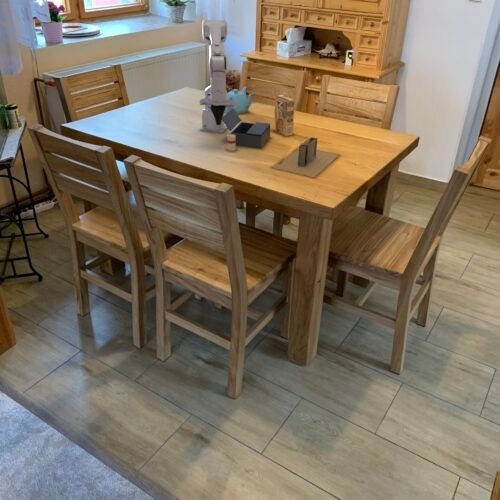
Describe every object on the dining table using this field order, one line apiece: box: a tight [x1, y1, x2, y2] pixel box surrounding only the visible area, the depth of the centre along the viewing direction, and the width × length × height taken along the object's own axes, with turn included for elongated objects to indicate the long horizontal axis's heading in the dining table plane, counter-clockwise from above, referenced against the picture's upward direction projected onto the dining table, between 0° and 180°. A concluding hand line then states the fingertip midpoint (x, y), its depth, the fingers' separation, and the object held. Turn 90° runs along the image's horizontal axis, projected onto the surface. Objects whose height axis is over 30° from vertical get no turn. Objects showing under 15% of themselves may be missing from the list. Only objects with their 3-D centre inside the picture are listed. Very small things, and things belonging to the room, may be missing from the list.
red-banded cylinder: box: [226, 133, 237, 152], centre depth 198 cm, size 3×3×6 cm
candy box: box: [273, 94, 296, 137], centre depth 214 cm, size 9×4×15 cm, turn 33°
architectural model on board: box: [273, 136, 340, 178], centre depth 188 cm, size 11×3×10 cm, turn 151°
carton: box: [230, 121, 271, 149], centre depth 207 cm, size 13×15×6 cm
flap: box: [222, 108, 242, 132], centre depth 206 cm, size 6×15×1 cm
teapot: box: [224, 86, 254, 115], centre depth 242 cm, size 15×15×10 cm
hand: (218, 124), depth 197 cm, fingers closed
